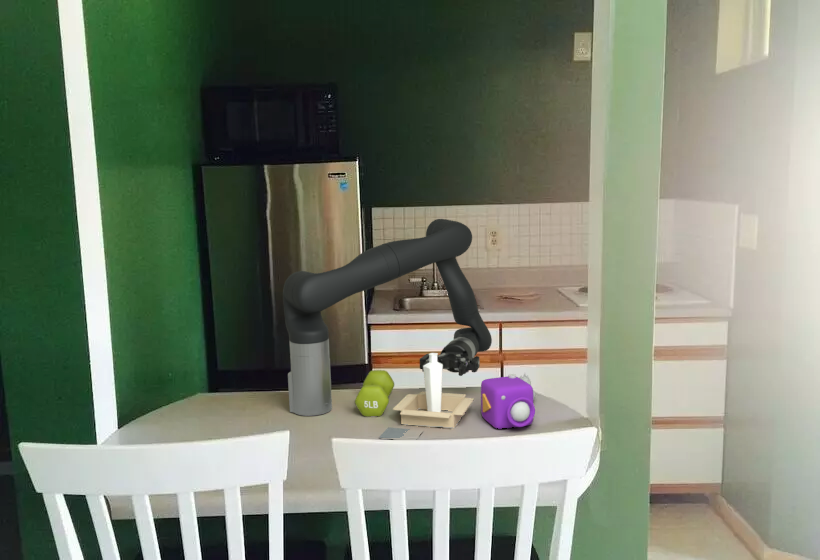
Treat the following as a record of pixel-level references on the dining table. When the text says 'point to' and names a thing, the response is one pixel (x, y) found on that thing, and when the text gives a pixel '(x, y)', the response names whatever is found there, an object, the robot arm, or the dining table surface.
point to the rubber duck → (526, 379)
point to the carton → (448, 402)
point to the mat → (393, 433)
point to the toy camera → (507, 402)
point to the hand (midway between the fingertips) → (442, 370)
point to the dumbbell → (374, 393)
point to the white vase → (433, 383)
